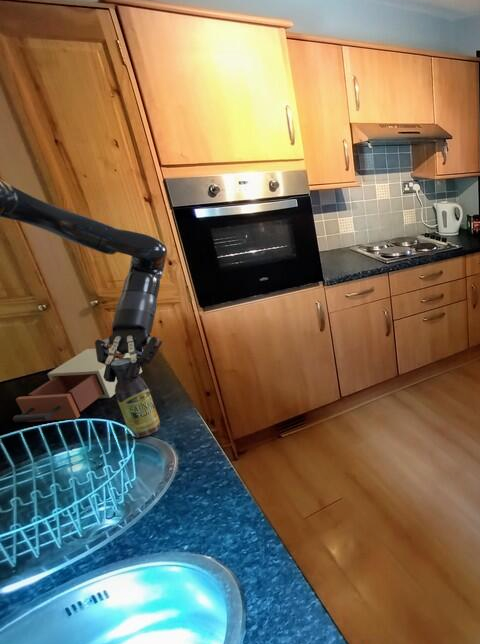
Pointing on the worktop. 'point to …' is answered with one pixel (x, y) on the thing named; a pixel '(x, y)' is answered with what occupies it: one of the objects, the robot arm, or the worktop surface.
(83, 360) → the drawer cabinet
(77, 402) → the reddish brown drawer
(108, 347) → the robot arm
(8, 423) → the worktop surface
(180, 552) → the worktop surface
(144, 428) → the sauce bottle
